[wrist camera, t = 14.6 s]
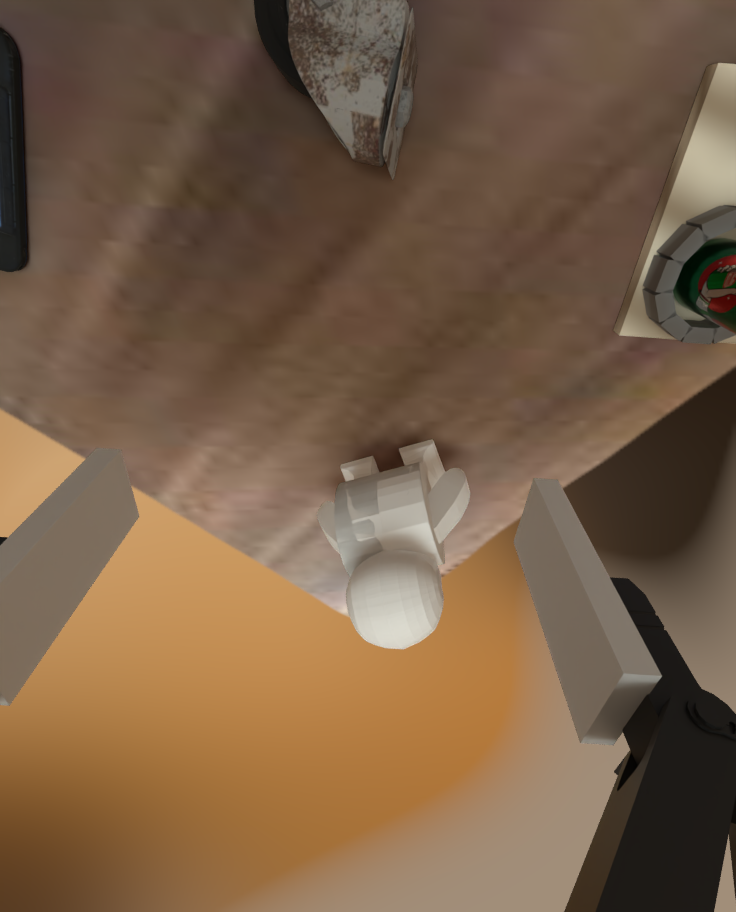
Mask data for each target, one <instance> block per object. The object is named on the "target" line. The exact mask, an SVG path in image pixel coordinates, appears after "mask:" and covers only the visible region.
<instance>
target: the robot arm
mask: <svg viewBox="0 0 736 912" xmlns="http://www.w3.org/2000/svg"><path fill="white" fill-rule="evenodd" d="M138 517H139V514H138V510H137V506H136V502H135V499H134V495H133V491H132V488H131V484H130V480H129V476H128V473H127V469H126V465H125V462H124V458H123V454H122V451H121V450H120V449H106V448H96V449H95V450H94V451H93V452H92V453H91V454H90V455H89V456H88V457H87V459H86V460H85V461H84V462H83V463H82V464H81V465H80V466H79V467H78V468H77V469H76V470H75V471H74V472H73V473H72V474H71V475H70V476H69V477H68V478H67V479H66V480H65V481H64V482H63V483H62V484H61V485H60V486H59V487H58V488H57V489H56V490H55V491H54V492H53V493H52V494H51V495H50V496H49V497H48V498H47V499H46V500H45V501H44V502H43V503H42V504H41V505H40V506H39V507H38V508H37V509H36V510H35V511H34V512H33V513H32V514H31V515H30V516H29V517H28V518H27V519H26V520H25V521H24V522H23V523H22V524H21V525H20V526H19V527H18V528H17V529H16V530H15V531H14V532H13V533H12V534H11V535H10V536H9V537H8V538H7V537H0V705H10V704H11V703H12V701H13V700H14V698H15V697H16V695H17V694H18V692H19V691H20V690H21V688H22V687H23V685H24V684H25V682H26V681H27V679H28V678H29V676H30V675H31V673H32V672H33V671H34V669H35V668H36V666H37V665H38V663H39V662H40V660H41V659H42V657H43V656H44V654H45V653H46V651H47V650H48V649H49V647H50V646H51V644H52V643H53V641H54V640H55V638H56V637H57V636H58V634H59V633H60V631H61V630H62V628H63V627H64V625H65V624H66V622H67V621H68V619H69V618H70V617H71V615H72V614H73V612H74V611H75V609H76V608H77V606H78V605H79V603H80V602H81V601H82V599H83V597H84V596H85V595H86V593H87V591H88V590H89V589H90V587H91V586H92V584H93V583H94V582H95V580H96V579H97V577H98V576H99V574H100V573H101V571H102V570H103V568H104V567H105V565H106V564H107V563H108V561H109V560H110V558H111V557H112V555H113V554H114V552H115V551H116V549H117V548H118V546H119V545H120V544H121V542H122V541H123V539H124V538H125V536H126V535H127V533H128V532H129V530H130V529H131V527H132V526H133V525H134V523H135V522H136V520H137V519H138ZM514 545H515V548H516V551H517V553H518V557H519V559H520V562H521V566H522V569H523V571H524V575H525V578H526V581H527V584H528V587H529V589H530V593H531V595H532V599H533V602H534V605H535V608H536V611H537V614H538V617H539V620H540V623H541V626H542V629H543V632H544V635H545V638H546V641H547V644H548V647H549V650H550V653H551V656H552V659H553V662H554V665H555V668H556V671H557V674H558V677H559V680H560V683H561V686H562V689H563V692H564V695H565V698H566V701H567V704H568V707H569V710H570V713H571V716H572V719H573V722H574V725H575V728H576V731H577V734H578V738H579V741H580V743H587V744H602V745H614V744H615V742H616V741H617V739H618V738H619V737H620V735H621V734H622V732H623V733H624V736H625V738H626V740H627V743H628V745H629V748H630V751H629V752H628V754H627V755H626V756H625V758H624V759H623V761H622V762H621V763H620V764H619V766H618V767H617V769H616V770H615V771H614V772H615V773H616V774H617V775H618V777H617V779H616V782H615V784H614V787H613V790H612V792H611V795H610V797H609V800H608V802H607V805H606V807H605V810H604V812H603V815H602V818H601V820H600V822H599V825H598V828H597V830H596V833H595V835H594V838H593V840H592V843H591V845H590V848H589V850H588V853H587V855H586V858H585V861H584V863H583V866H582V868H581V871H580V873H579V876H578V878H577V881H576V883H575V886H574V888H573V891H572V893H571V896H570V899H569V902H568V904H567V906H566V909H565V911H564V912H714V908H715V903H716V898H717V893H718V887H719V882H720V877H721V871H722V865H723V860H724V854H725V850H726V845H727V839H728V834H729V841H730V850H731V860H732V869H733V879H734V888H735V898H736V714H735V713H734V712H733V711H732V709H731V708H730V707H729V706H728V705H727V704H726V703H724V702H723V701H722V700H720V699H719V698H718V697H716V696H715V695H714V694H712V693H709V692H707V691H705V690H703V689H701V687H700V686H699V685H698V683H697V681H696V680H695V678H694V676H693V675H692V673H691V671H690V670H689V668H688V666H687V664H686V663H685V661H684V660H683V658H682V656H681V655H680V653H679V651H678V649H677V648H676V646H675V644H674V643H673V641H672V639H671V637H670V636H669V634H668V632H667V631H666V630H664V626H663V624H662V622H661V621H660V619H659V617H658V616H656V615H655V610H654V609H653V607H652V605H651V604H650V602H649V601H648V599H647V597H646V595H645V594H644V593H643V592H642V591H641V590H640V589H639V588H638V587H637V586H636V585H634V584H633V583H632V582H631V581H630V580H629V579H626V578H610V577H609V576H608V574H607V572H606V570H605V568H604V566H603V564H602V562H601V560H600V559H599V557H598V555H597V553H596V551H595V549H594V547H593V545H592V543H591V542H590V540H589V538H588V536H587V534H586V532H585V530H584V529H583V526H582V525H581V523H580V521H579V519H578V517H577V515H576V514H575V511H574V510H573V508H572V506H571V504H570V502H569V500H568V498H567V496H566V495H565V493H564V491H563V489H562V487H561V485H560V483H559V481H558V480H553V479H538V478H534V479H533V482H532V485H531V489H530V492H529V495H528V498H527V501H526V504H525V508H524V511H523V514H522V517H521V520H520V523H519V527H518V530H517V533H516V536H515V539H514Z"/></svg>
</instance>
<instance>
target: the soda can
mask: <svg viewBox="0 0 736 912" xmlns="http://www.w3.org/2000/svg"><path fill="white" fill-rule="evenodd" d="M673 294H674V297H675V299H676V300H677V302H678V303H679V304H680V305H681V306H683V307H685V308H687V309H689V310H691V311H692V312H694V313H696V314H698V315H700V316H702V317H704V318H706V319H708V320H710V321H712V322H714V323H715V324H717V325H719V326H721V327H723V328H725V329H727V330H729V331H731V332H733V333H735V334H736V240H733V239H728V238H718V239H714V240H710V241H708V242H705V243H704V244H703V245H702V246H701V247H700V248H699V249H698V250H697V251H696V252H695V253H694V254H693V255H692V256H691V257H690V258H689V259H688V260H687V261H686V262H685V263H684V264H683V267H682V269H681V272H680V274H679V277H678V279H677V282H676V284H675V286H674V289H673Z"/></svg>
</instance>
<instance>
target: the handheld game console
mask: <svg viewBox="0 0 736 912" xmlns="http://www.w3.org/2000/svg"><path fill="white" fill-rule="evenodd" d="M26 250H27V240H26V207H25V179H24V151H23V121H22V96H21V74H20V58H19V54H18V51H17V48H16V46H15V44H14V42H13V40H12V39H11V38H10V36H9V35H8V34H7V33H6V32H5V31H4V30H2V29H1V28H0V270H2V271H6V272H14V271H18V270H21V269H22V268H23V267H24V266H25V264H26V261H27V252H26Z"/></svg>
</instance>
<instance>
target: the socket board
mask: <svg viewBox="0 0 736 912" xmlns="http://www.w3.org/2000/svg"><path fill="white" fill-rule="evenodd" d="M718 238H728V239H733V240H736V64H726V63H716V64H713V65H709V66H707V68H706V70H705V73H704V76H703V79H702V82H701V84H700V87H699V90H698V93H697V96H696V98H695V101H694V104H693V107H692V110H691V113H690V115H689V118H688V121H687V124H686V127H685V129H684V132H683V135H682V138H681V141H680V144H679V146H678V149H677V152H676V155H675V158H674V160H673V163H672V166H671V169H670V172H669V175H668V177H667V180H666V183H665V186H664V189H663V191H662V194H661V197H660V200H659V203H658V206H657V208H656V211H655V214H654V217H653V220H652V222H651V225H650V228H649V231H648V234H647V236H646V239H645V242H644V245H643V248H642V251H641V253H640V256H639V259H638V262H637V265H636V267H635V270H634V273H633V276H632V279H631V282H630V284H629V287H628V290H627V293H626V296H625V298H624V301H623V304H622V307H621V310H620V313H619V315H618V318H617V321H616V324H615V327H614V329H613V331H614V332H616V333H617V334H618V335H622V336H636V337H650V338H664V339H677V340H678V341H681V342H686V343H700V344H711V343H714V344H715V343H717V342H720V343H734V344H736V334H735V333H733V332H731V331H729V330H727V329H725V328H723V327H721V326H719V325H717V324H715V323H714V322H712V321H710V320H708V319H706V318H704V317H702V316H700V315H698V314H696V313H694V312H692V311H691V310H689V309H687V308H685V307H683V306H681V305H680V304H679V303H678V302H677V300H676V299H675V297H674V294H673V289H674V286H675V284H676V282H677V279H678V277H679V274H680V272H681V269H682V267H683V264H684V263H685V262H686V261H687V260H688V259H689V258H690V257H691V256H692V255H693V254H694V253H695V252H696V251H697V250H698V249H699V248H700V247H701V246H702V245H703V244H704V243H705V242H708V241H710V240H714V239H718Z"/></svg>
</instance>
